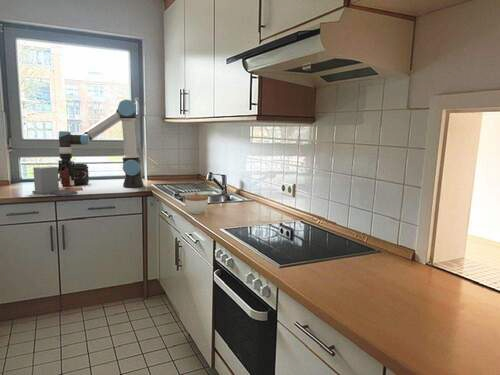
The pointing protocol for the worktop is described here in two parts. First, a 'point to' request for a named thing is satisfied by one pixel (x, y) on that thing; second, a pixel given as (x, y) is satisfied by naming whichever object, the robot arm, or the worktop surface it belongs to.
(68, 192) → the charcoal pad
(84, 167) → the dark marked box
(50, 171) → the grey unit
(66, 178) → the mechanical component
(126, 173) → the robot arm
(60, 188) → the terracotta pad
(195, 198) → the lidded bowl
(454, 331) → the worktop surface
